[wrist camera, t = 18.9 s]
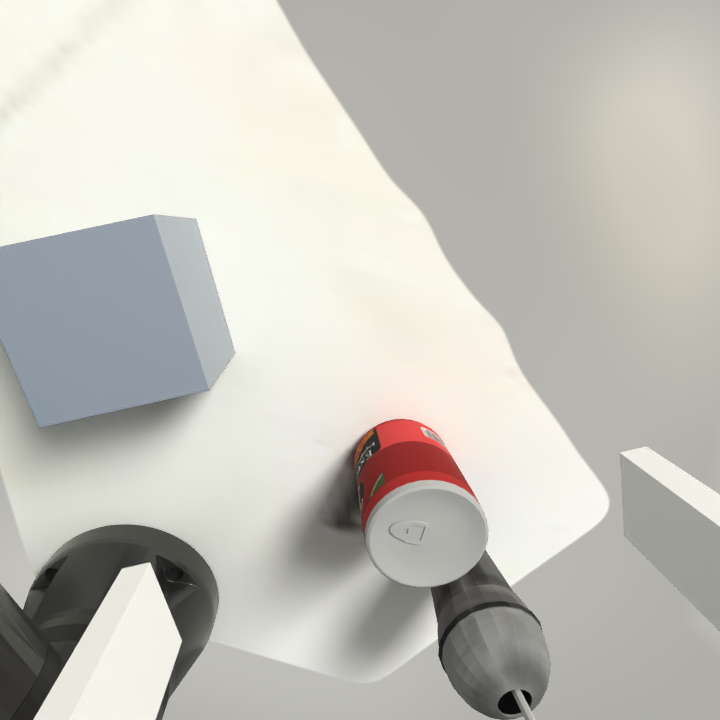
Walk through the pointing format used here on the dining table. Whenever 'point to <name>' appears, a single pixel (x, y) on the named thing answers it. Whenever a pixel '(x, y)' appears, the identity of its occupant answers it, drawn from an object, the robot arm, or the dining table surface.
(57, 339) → the slate blue cube
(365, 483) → the canned food
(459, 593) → the beverage cup
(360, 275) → the dining table surface
